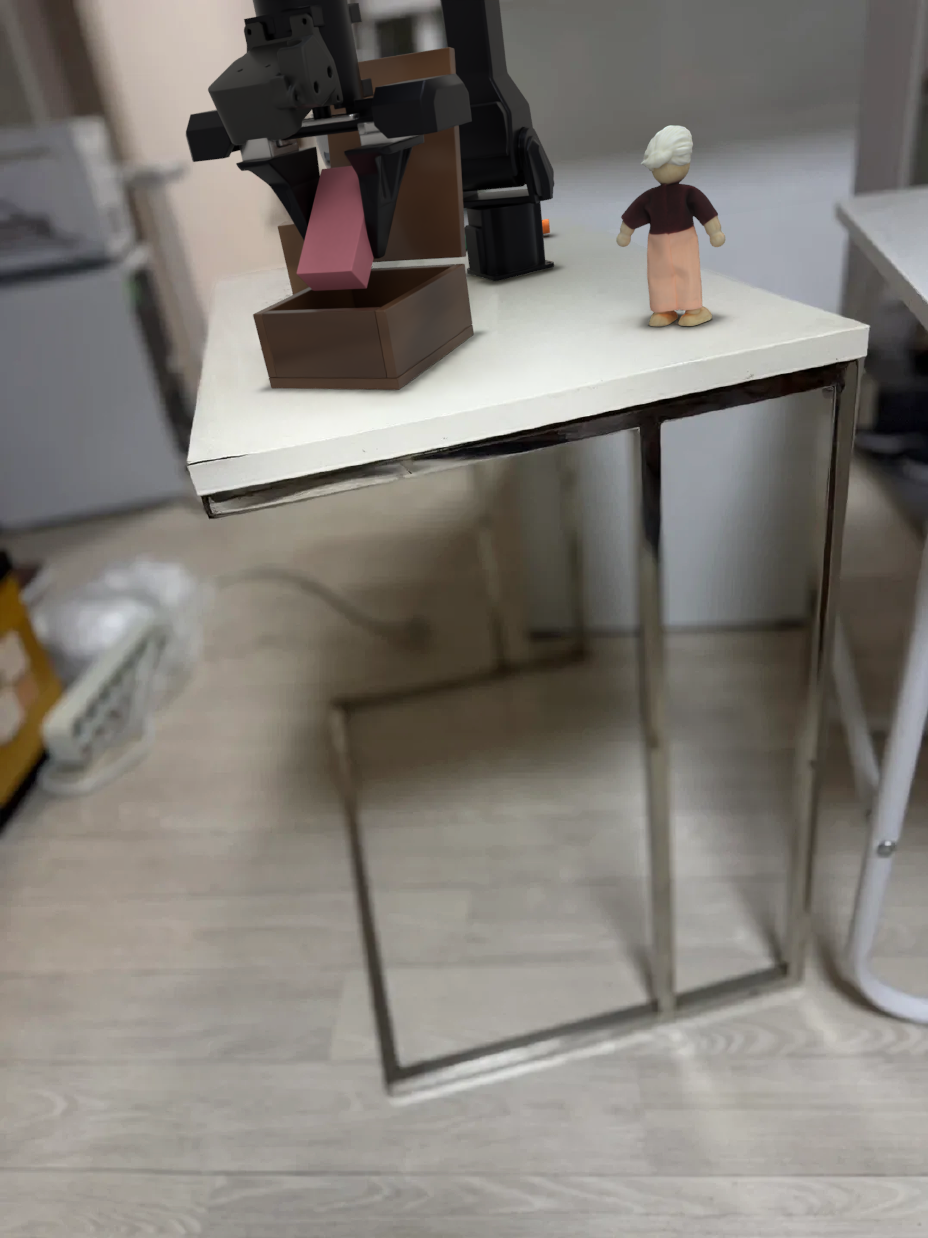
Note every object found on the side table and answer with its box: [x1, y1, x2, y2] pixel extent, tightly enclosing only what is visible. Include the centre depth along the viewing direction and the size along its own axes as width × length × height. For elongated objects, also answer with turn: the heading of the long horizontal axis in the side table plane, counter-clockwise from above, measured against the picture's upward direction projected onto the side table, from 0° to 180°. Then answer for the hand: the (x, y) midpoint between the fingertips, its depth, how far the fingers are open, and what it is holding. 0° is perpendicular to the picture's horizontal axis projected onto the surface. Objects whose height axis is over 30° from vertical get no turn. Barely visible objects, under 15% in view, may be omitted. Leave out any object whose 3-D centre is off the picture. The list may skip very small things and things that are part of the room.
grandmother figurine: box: [615, 125, 726, 327], centre depth 64 cm, size 8×4×13 cm, turn 71°
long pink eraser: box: [297, 166, 374, 291], centre depth 63 cm, size 8×4×2 cm
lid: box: [327, 46, 467, 263], centre depth 68 cm, size 13×11×1 cm
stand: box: [277, 220, 309, 295], centre depth 90 cm, size 3×3×7 cm
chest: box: [252, 263, 475, 391], centre depth 67 cm, size 13×11×5 cm
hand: (350, 259), depth 64 cm, fingers closed on long pink eraser, 4 cm apart
